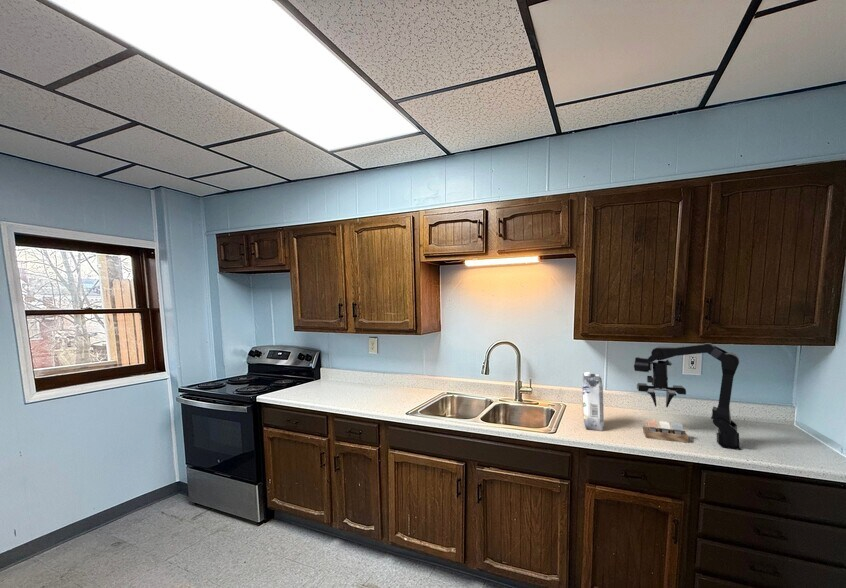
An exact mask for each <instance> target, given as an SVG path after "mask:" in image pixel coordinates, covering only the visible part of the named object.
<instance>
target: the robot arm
mask: <svg viewBox="0 0 846 588" xmlns="http://www.w3.org/2000/svg"><path fill="white" fill-rule="evenodd" d="M706 353H707V354H708V355H710V356H712V357H713V358H714V359H716V360H717V361H719V362H720V363H721V364H720V365H721V371H722V375H721V383H720V384H721V385H720V390H719V398H718V405H717V406H712V410H711V411H712V414H711V417H710V420H712V423H713V425H715V427H716V428H718V429H717V432H716V443H717V445H719V446H720V447H721V448H725V449H733V450H741V451H742V447H741V446H740V433H739V431H738V427H739V426H738V425H737V424H736V422H735V421H733V420H732V415H731V409H730V408H731V407H730V406H731V405H730V404H731V397H732V390H733V382H734V376H735V375H736V372H737V369H738V368H739V367H738V366H739V365H740V357H739V355H738V354H736V353H734V352H732V351H731V352H730V351H726V350H724V349H722V348H720V347H718V346H716V345H714V344H713V343H710V342H705V343H699V344H691V345H683V346H657V347H655V348H653V349H652V350H651V355H650V356H648V358H647V357H645V358H644V357H639V356H637V357H635V358H634V359H635V360H634V364H633V369H634V372H643V373H649V372H650V371H652V375H647V376H646V381H647V383H648V384H649V383H651V385H648V384H647V383H644V382H643V383H642V382H638V383H637V384H636V389H637V391H638V392H645V393H646V394H649V395H650V397H651V399H652V402H653V404H654V407H657V398H656V392H655V391H664V392H665V393H666V397H665V408H668V407H669V406H670V403H671V401H672V399H673V398H674V397H675V396H676V397H677V395H683V396H684V395H687V390H686V388H685V387H684V386H683V385H675V384H673V385H672V386H669V380H668V379H669V378H668V366H672V365H673V363H672V362H671V361H670V360H669V358H670V359H671V358H673V357H678V356H689V355H698V354H706ZM665 359H666V360H665Z"/></svg>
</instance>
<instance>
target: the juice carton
mask: <svg viewBox="0 0 846 588" xmlns="http://www.w3.org/2000/svg"><path fill="white" fill-rule="evenodd" d="M581 383H582V384H581V387H582V388H581V390H582V391H581V392H582V395H581V397H582V418H583V423H584V427H585V430H589V431H597V432H602V431H603V430H604V429H603V428H604V423H605V422H604V421H605V420H604V418H605V415H604V387H603V385H604V384H603V379H602V377H601V375H600V374H599V373H591V372H590V371H587V372H583V373H582V381H581Z"/></svg>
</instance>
